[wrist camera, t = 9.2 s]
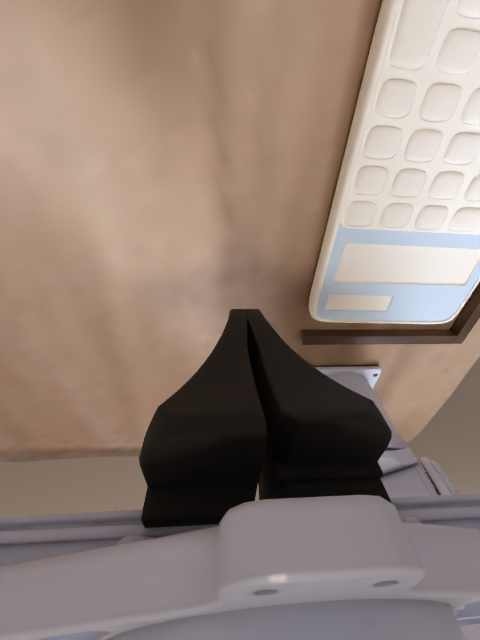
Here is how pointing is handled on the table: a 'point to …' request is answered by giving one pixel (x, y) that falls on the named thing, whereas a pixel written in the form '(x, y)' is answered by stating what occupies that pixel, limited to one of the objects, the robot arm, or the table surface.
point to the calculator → (408, 174)
